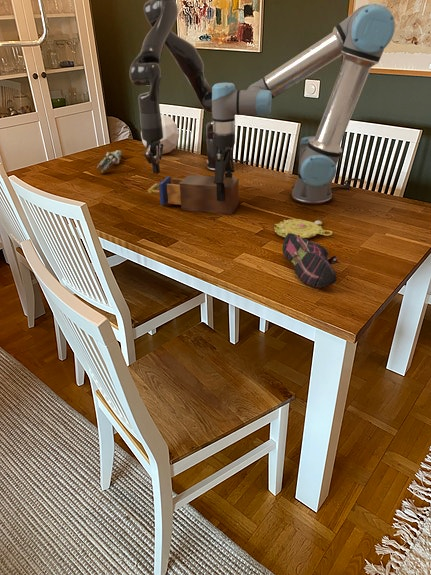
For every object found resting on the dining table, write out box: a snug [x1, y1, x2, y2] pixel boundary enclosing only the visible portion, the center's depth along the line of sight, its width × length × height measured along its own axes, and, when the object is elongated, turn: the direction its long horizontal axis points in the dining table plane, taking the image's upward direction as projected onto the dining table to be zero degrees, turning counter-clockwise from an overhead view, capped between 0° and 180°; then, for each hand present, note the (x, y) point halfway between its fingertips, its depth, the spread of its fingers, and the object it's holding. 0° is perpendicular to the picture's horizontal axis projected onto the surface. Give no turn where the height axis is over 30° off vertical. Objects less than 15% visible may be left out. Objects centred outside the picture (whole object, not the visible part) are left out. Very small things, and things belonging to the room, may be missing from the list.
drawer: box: [147, 175, 185, 206], centre depth 167 cm, size 23×9×8 cm, turn 73°
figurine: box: [96, 150, 123, 174], centre depth 213 cm, size 7×8×30 cm
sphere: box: [140, 113, 180, 155], centre depth 225 cm, size 19×20×20 cm
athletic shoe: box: [282, 233, 341, 288], centre depth 122 cm, size 11×22×12 cm
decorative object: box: [273, 218, 333, 239], centre depth 145 cm, size 21×2×20 cm
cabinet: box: [180, 174, 240, 216], centre depth 164 cm, size 19×10×10 cm, turn 73°
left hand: (156, 173), depth 166 cm, fingers closed
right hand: (224, 195), depth 162 cm, fingers closed on cabinet, 10 cm apart
